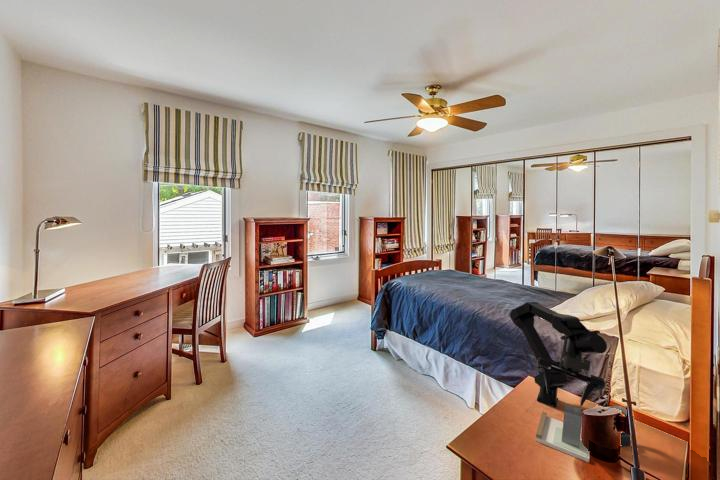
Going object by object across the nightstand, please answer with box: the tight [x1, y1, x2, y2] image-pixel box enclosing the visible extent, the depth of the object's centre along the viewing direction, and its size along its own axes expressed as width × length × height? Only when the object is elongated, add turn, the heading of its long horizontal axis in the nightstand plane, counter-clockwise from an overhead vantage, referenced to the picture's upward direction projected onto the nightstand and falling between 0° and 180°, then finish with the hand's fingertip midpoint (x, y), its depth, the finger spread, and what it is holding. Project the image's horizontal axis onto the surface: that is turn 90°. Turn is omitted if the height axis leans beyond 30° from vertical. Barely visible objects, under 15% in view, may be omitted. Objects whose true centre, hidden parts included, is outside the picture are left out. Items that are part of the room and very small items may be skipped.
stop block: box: [562, 403, 583, 448], centre depth 96 cm, size 4×4×10 cm
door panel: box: [535, 411, 591, 463], centre depth 100 cm, size 14×14×2 cm
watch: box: [609, 404, 636, 447], centre depth 99 cm, size 6×8×11 cm
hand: (564, 399), depth 101 cm, fingers open, 9 cm apart
